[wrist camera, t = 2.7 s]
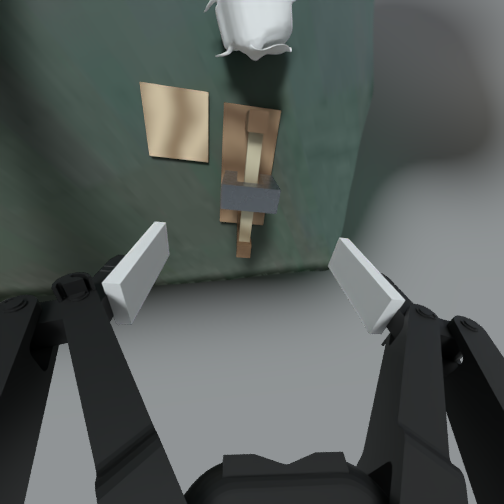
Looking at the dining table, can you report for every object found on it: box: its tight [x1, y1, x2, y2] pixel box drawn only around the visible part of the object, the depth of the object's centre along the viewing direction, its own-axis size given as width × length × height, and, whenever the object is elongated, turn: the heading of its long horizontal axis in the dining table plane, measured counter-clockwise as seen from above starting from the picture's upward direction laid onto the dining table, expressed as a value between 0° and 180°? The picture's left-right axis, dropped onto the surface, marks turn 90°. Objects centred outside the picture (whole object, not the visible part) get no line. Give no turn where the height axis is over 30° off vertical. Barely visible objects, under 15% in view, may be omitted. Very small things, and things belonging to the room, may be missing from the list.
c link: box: [221, 170, 281, 214], centre depth 28 cm, size 7×3×8 cm, turn 83°
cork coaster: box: [140, 82, 209, 162], centre depth 34 cm, size 10×10×1 cm
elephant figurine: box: [204, 0, 296, 61], centre depth 25 cm, size 10×12×9 cm
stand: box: [220, 102, 281, 258], centre depth 32 cm, size 20×9×15 cm, turn 173°
